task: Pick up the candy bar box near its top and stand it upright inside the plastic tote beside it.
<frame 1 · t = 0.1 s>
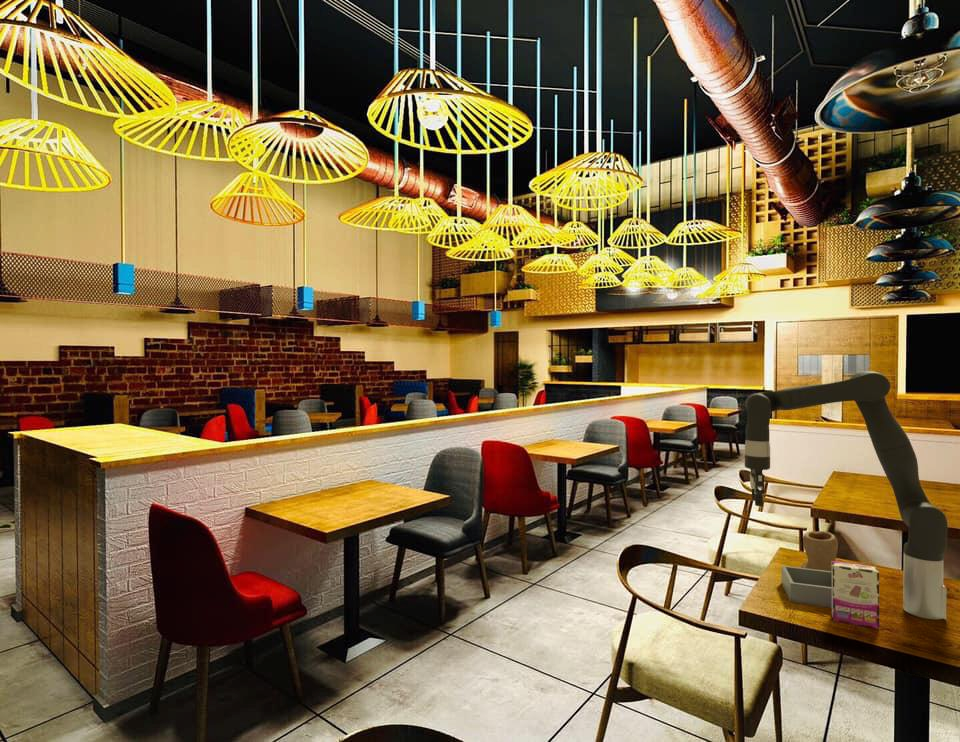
hand: (757, 502, 176), 29 cm above the table, tool pointing down, fingers open, 8 cm apart
tote: (813, 595, 172), on the table
stone cup: (825, 575, 190), on the table
candy bar box: (854, 622, 155), on the table
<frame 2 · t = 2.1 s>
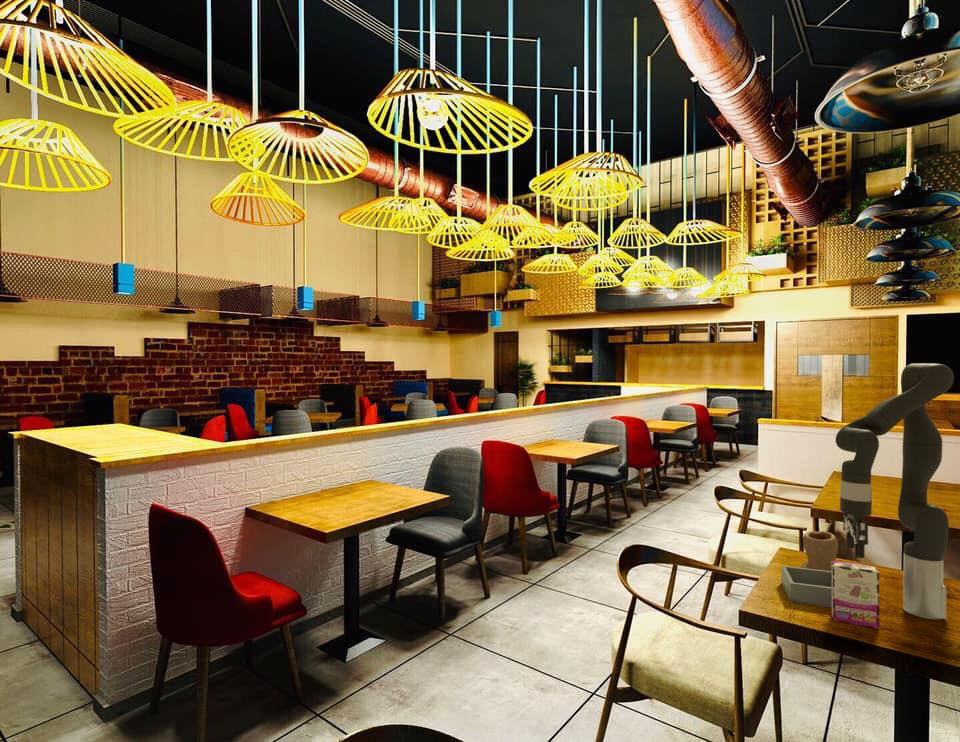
hand: (854, 552, 155), 20 cm above the table, tool pointing down, fingers open, 8 cm apart
nothing on the table moved.
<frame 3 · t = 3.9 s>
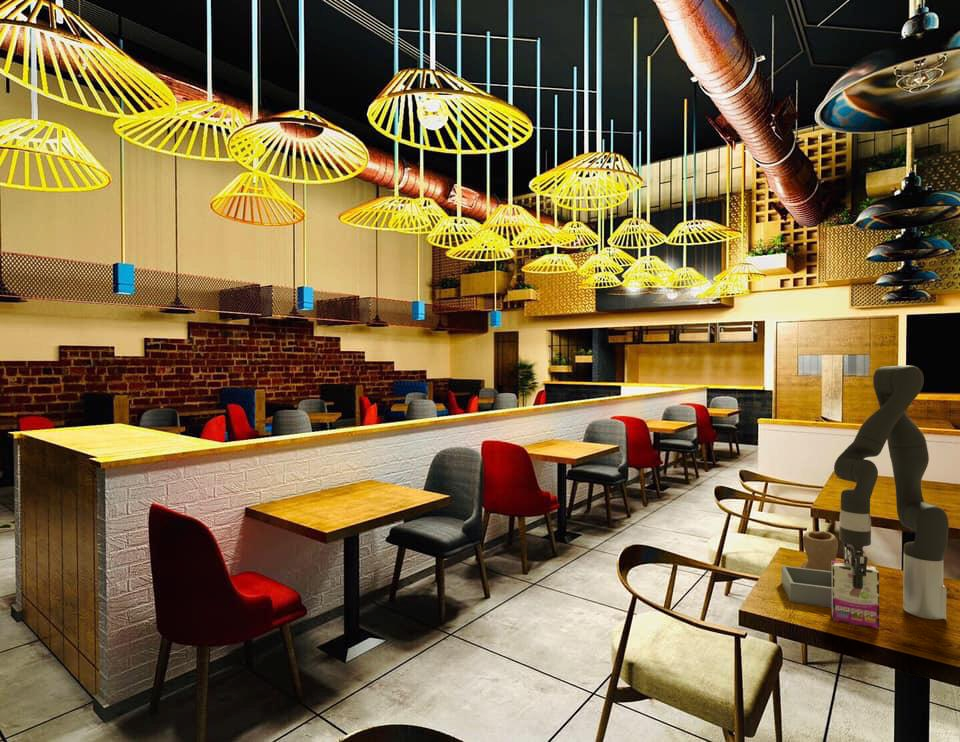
hand: (854, 584, 155), 11 cm above the table, tool pointing down, fingers closed on candy bar box, 5 cm apart
candy bar box: (854, 622, 155), on the table, touching gripper
everything else where it was.
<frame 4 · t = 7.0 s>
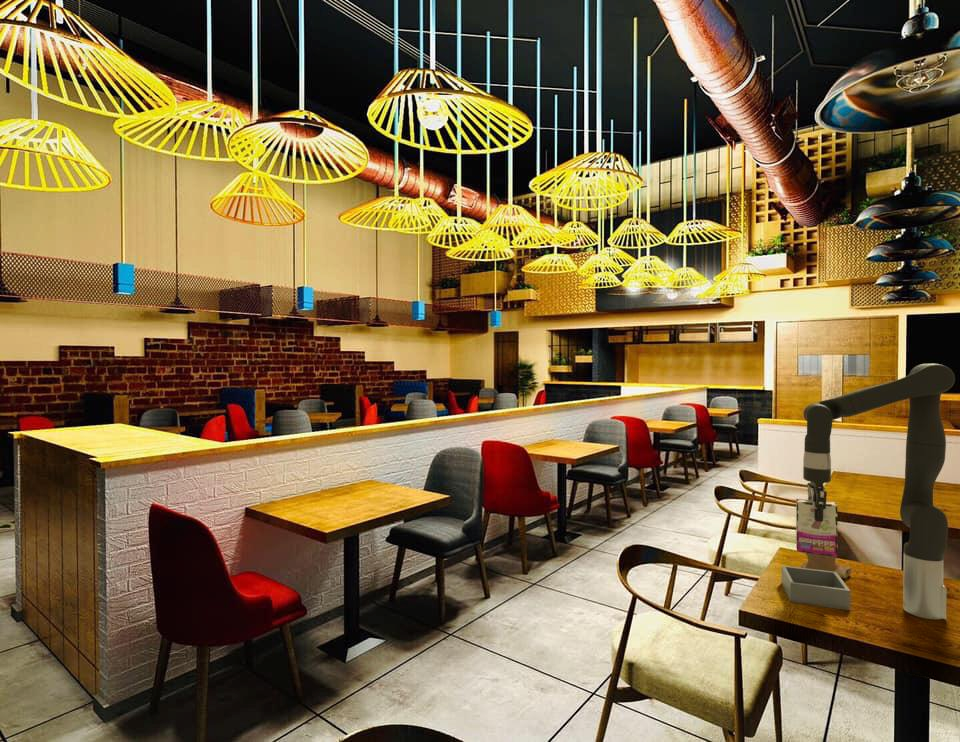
hand: (816, 518, 171), 25 cm above the table, tool pointing down, fingers closed on candy bar box, 5 cm apart
candy bar box: (815, 552, 171), point 14 cm above the table, touching gripper
everything else where it was.
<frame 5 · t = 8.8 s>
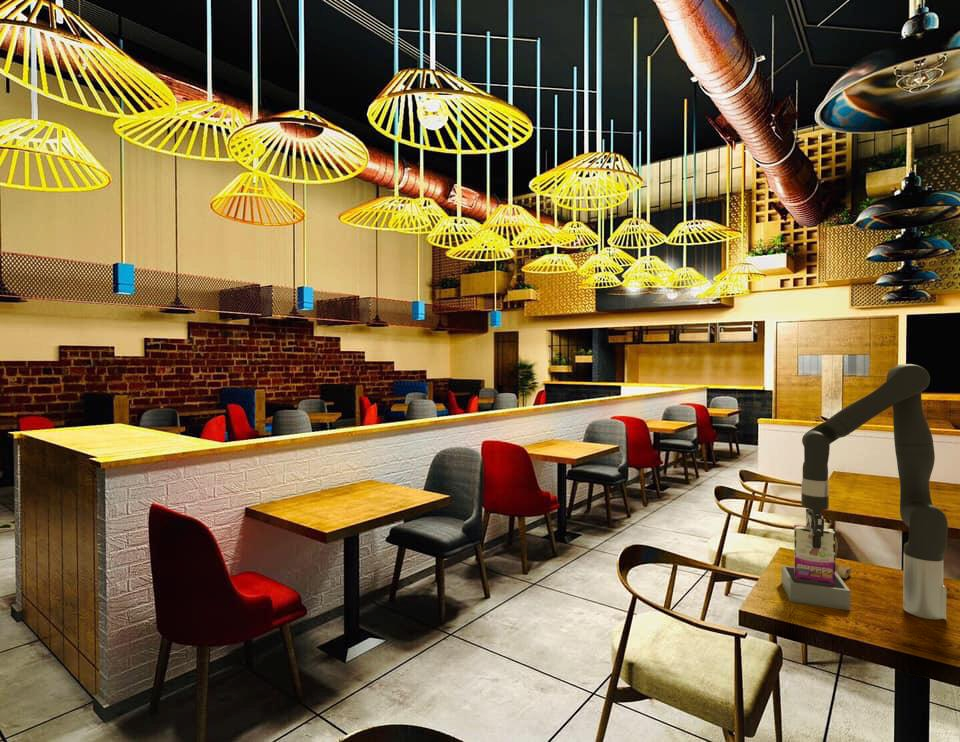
hand: (814, 544, 172), 17 cm above the table, tool pointing down, fingers closed on candy bar box, 5 cm apart
candy bar box: (813, 579, 172), point 5 cm above the table, touching gripper
everything else where it was.
when the fingers open (13 cm above the table, at t = 10.3 s): candy bar box drops 1 cm, resting on tote.
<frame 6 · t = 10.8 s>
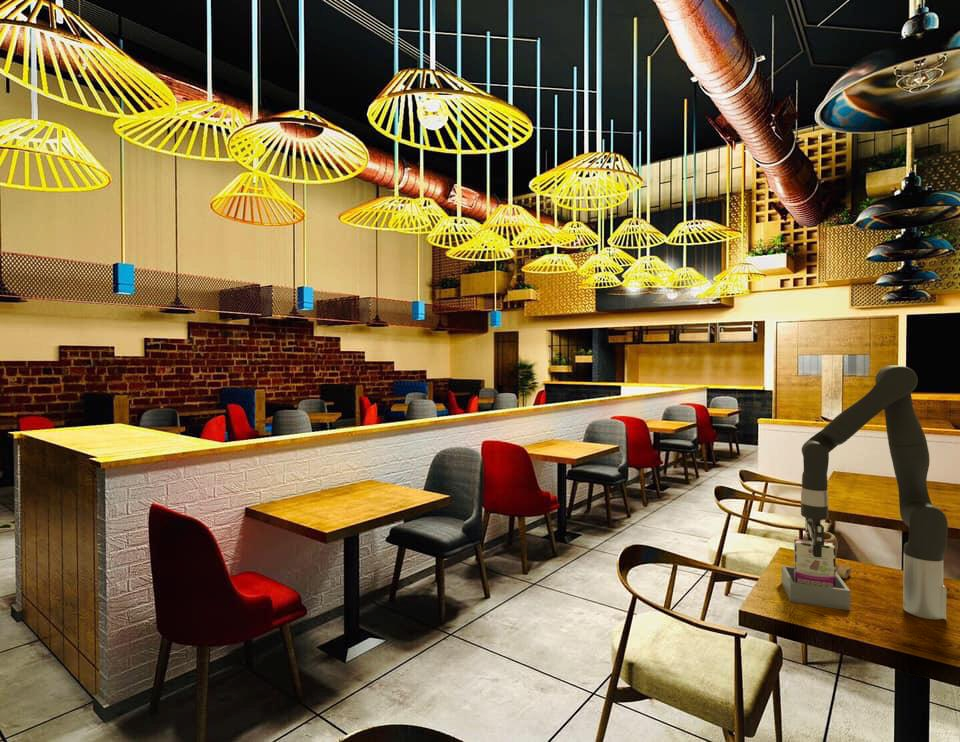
hand: (814, 552, 172), 14 cm above the table, tool pointing down, fingers open, 8 cm apart
candy bar box: (814, 593, 172), point 1 cm above the table, touching tote
everything else where it was.
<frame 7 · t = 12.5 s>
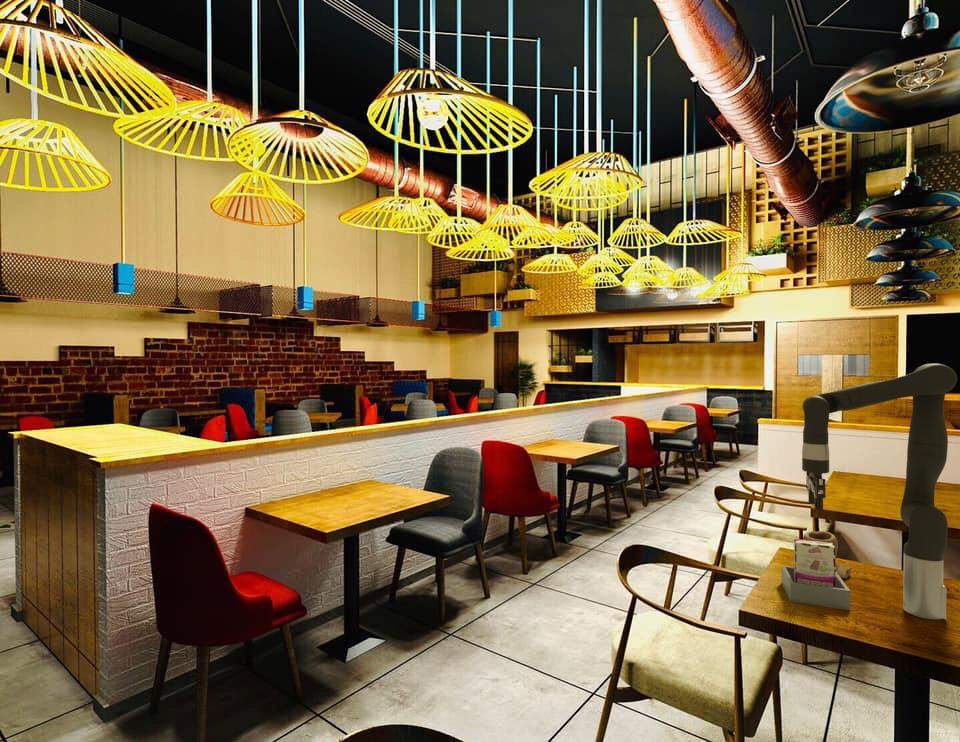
hand: (815, 506, 173), 29 cm above the table, tool pointing down, fingers open, 8 cm apart
nothing on the table moved.
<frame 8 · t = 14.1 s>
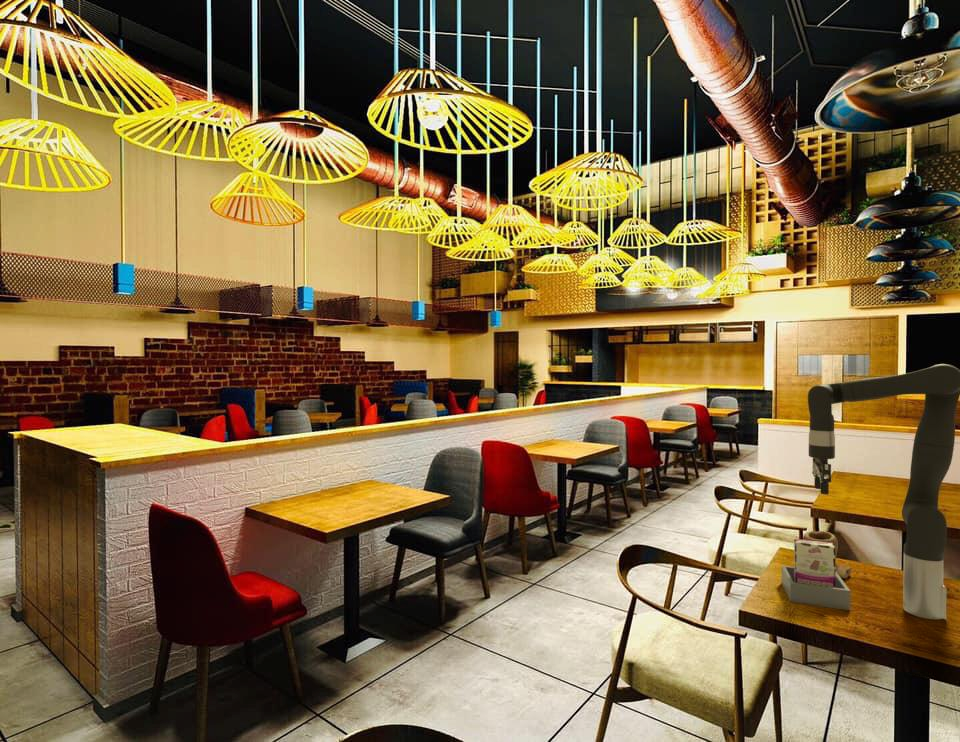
hand: (821, 491, 180), 32 cm above the table, tool pointing down, fingers open, 8 cm apart
nothing on the table moved.
at the end: candy bar box inside the target area on the tote (0.1 cm from its centre), point 0.8 cm above the tote's base; candy bar box tilted 0°; the gripper is holding nothing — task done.
